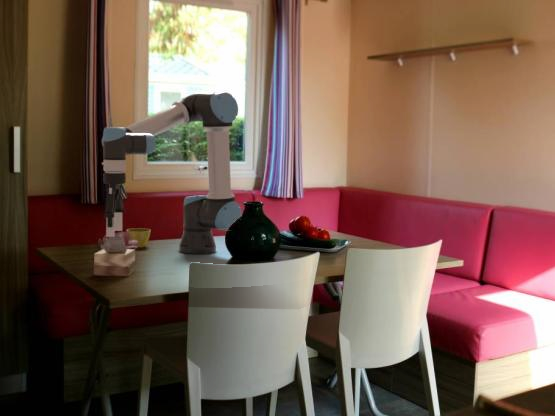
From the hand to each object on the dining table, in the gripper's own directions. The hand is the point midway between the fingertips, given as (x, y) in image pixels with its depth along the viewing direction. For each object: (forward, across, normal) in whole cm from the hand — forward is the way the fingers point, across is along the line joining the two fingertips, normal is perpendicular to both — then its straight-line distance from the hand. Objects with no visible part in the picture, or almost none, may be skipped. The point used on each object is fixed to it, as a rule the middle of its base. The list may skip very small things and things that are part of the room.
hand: (114, 233), depth 253 cm
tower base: (+14, 0, 0) cm, 14 cm away
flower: (+14, -29, -4) cm, 32 cm away
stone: (+6, 0, +1) cm, 7 cm away
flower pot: (+14, -52, 0) cm, 54 cm away
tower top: (+10, 0, 0) cm, 10 cm away
